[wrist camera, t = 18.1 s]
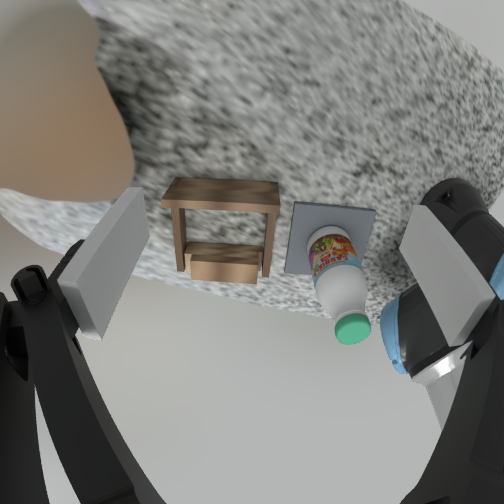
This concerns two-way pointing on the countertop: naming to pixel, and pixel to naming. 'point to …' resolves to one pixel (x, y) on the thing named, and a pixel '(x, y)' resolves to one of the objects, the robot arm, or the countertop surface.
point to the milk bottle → (339, 283)
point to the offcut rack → (222, 255)
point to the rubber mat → (322, 215)
